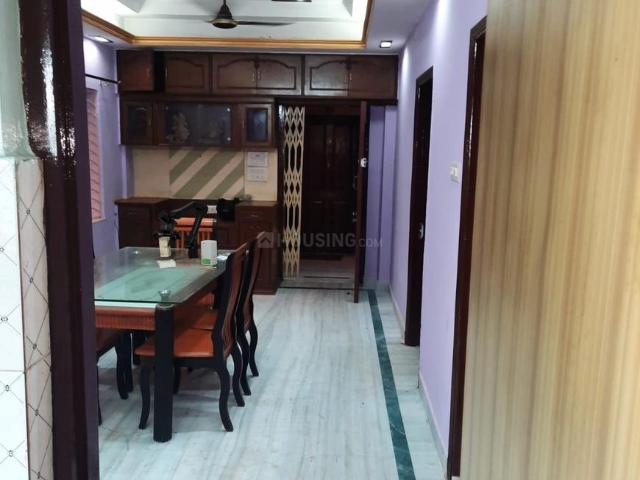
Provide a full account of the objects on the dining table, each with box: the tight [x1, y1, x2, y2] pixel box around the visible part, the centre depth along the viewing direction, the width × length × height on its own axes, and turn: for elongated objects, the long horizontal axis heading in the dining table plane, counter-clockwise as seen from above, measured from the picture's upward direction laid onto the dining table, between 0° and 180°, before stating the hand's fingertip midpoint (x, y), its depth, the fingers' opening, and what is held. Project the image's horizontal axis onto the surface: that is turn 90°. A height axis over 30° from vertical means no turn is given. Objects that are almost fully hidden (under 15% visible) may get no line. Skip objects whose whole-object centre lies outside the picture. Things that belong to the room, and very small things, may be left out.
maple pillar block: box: [158, 237, 172, 258], centre depth 358 cm, size 5×5×12 cm
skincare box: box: [200, 239, 218, 266], centre depth 360 cm, size 8×7×16 cm
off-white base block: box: [156, 259, 176, 269], centre depth 360 cm, size 10×10×3 cm
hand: (164, 246), depth 357 cm, fingers closed on maple pillar block, 5 cm apart
